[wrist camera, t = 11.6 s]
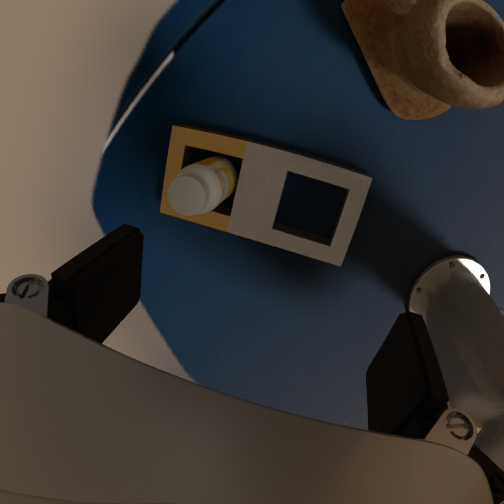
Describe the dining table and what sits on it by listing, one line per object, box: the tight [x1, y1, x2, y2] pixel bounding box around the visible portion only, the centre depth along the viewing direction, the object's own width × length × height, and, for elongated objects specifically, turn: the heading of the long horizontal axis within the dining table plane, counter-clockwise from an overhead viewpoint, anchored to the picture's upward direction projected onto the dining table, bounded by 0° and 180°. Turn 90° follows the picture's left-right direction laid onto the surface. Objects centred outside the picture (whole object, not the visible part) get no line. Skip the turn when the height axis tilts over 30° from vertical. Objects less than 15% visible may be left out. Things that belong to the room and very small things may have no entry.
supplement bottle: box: [168, 157, 238, 216], centre depth 35 cm, size 5×5×10 cm
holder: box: [160, 124, 372, 267], centre depth 37 cm, size 23×11×3 cm, turn 77°
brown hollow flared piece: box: [341, 0, 504, 120], centre depth 21 cm, size 15×12×15 cm
